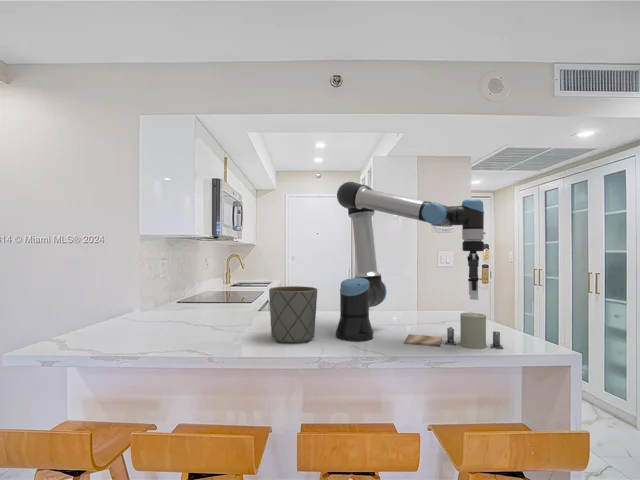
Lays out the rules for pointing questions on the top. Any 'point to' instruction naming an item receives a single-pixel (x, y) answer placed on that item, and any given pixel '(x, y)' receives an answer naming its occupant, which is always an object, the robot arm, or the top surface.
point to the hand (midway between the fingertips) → (473, 297)
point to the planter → (293, 313)
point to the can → (473, 330)
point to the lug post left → (450, 336)
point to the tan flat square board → (423, 340)
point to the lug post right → (496, 341)
